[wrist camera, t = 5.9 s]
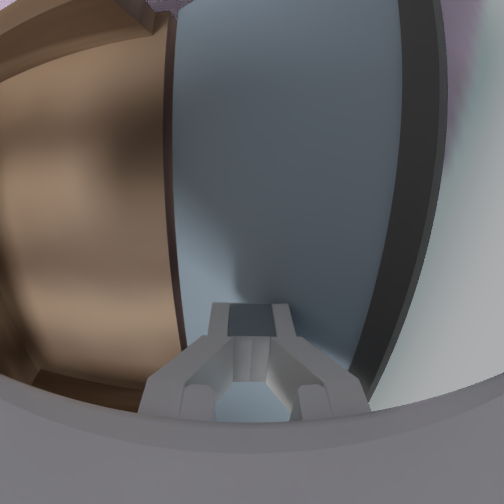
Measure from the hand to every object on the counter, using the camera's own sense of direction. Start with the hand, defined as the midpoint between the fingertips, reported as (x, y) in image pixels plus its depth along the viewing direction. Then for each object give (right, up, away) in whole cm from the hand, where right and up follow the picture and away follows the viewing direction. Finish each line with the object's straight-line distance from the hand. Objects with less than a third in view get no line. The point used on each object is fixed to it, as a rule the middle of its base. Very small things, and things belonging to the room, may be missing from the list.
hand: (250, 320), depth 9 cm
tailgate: (-3, +2, +4) cm, 5 cm away
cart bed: (-11, +3, +6) cm, 13 cm away
